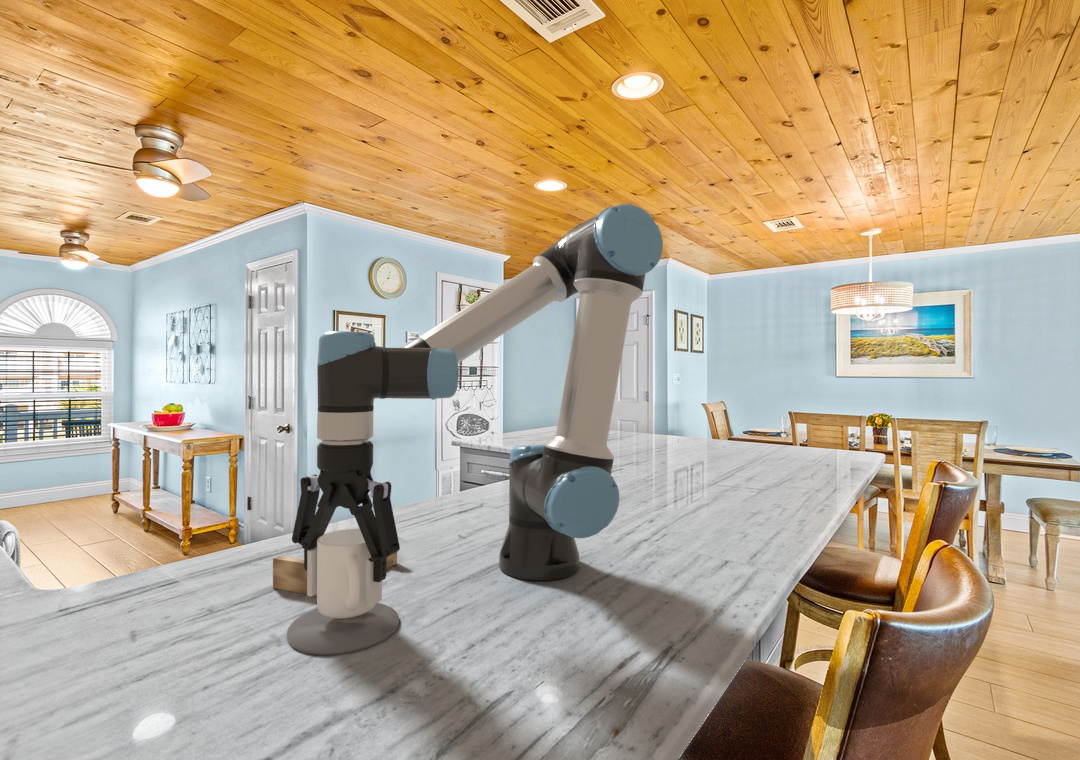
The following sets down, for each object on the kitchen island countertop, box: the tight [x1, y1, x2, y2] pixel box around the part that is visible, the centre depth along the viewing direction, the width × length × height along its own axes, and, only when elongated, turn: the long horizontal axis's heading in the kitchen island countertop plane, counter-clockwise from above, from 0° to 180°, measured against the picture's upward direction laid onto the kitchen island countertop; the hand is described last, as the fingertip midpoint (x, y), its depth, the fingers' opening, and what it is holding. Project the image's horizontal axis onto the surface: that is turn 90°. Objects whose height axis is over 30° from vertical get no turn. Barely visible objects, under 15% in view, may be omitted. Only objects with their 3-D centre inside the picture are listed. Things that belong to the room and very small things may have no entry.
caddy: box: [272, 552, 398, 597], centre depth 98 cm, size 13×17×5 cm
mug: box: [316, 528, 375, 619], centre depth 78 cm, size 12×8×10 cm
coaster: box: [286, 602, 400, 656], centre depth 79 cm, size 15×15×1 cm
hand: (344, 597), depth 78 cm, fingers closed on mug, 9 cm apart
